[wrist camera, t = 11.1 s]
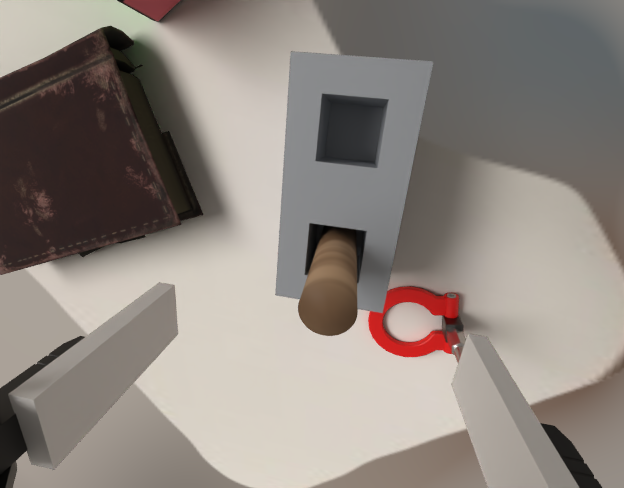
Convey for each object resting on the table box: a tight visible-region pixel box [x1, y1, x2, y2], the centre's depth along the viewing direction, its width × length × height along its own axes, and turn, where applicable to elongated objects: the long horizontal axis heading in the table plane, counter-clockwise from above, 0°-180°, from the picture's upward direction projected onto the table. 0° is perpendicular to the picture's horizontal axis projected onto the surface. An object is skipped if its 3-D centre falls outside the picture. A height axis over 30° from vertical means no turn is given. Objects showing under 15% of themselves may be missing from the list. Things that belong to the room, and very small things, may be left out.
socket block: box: [275, 51, 433, 313], centre depth 26 cm, size 18×9×8 cm, turn 174°
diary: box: [0, 26, 203, 275], centre depth 33 cm, size 19×25×5 cm
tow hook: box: [368, 286, 466, 363], centre depth 28 cm, size 8×13×9 cm
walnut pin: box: [298, 225, 358, 336], centre depth 23 cm, size 3×3×14 cm
